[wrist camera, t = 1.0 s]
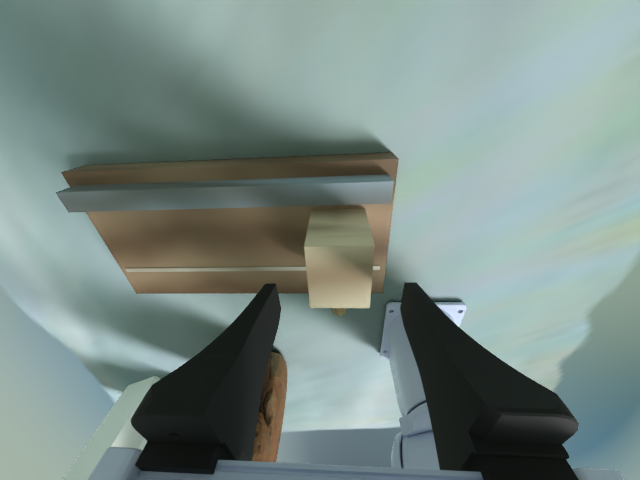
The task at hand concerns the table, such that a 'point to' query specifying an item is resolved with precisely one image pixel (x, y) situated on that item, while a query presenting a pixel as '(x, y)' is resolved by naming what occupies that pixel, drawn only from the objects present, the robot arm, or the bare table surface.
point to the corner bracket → (113, 431)
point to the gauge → (339, 259)
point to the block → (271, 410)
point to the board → (228, 217)
